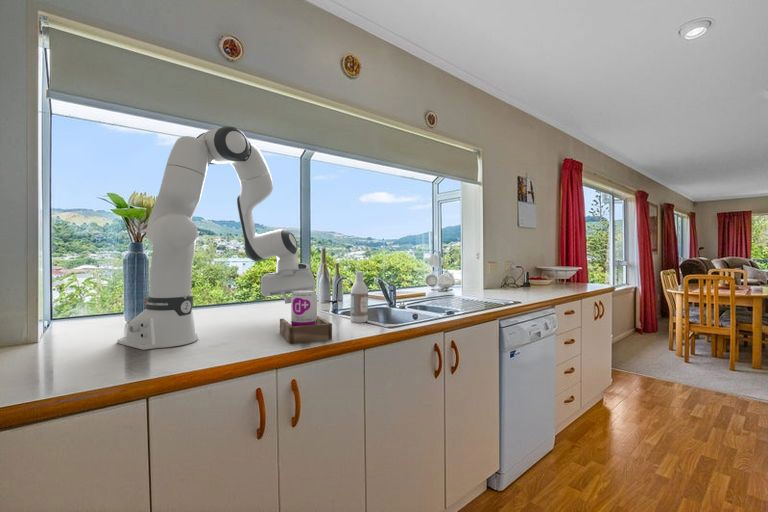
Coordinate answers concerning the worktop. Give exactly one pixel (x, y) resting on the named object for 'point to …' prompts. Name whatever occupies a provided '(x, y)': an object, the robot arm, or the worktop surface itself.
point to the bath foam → (359, 300)
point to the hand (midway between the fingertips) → (289, 302)
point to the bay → (306, 331)
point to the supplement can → (303, 308)
